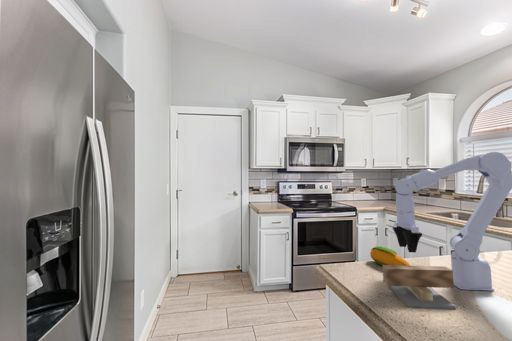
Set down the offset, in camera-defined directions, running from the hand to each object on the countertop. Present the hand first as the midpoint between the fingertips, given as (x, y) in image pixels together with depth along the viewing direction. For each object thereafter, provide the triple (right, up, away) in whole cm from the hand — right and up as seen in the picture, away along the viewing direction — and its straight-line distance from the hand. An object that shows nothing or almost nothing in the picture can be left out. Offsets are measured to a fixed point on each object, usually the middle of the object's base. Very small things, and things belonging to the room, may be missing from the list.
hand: (407, 249), depth 91 cm
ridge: (-6, -9, -16) cm, 19 cm away
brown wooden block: (-6, -6, -16) cm, 18 cm away
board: (-6, -9, -16) cm, 19 cm away
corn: (-1, -11, +10) cm, 15 cm away
